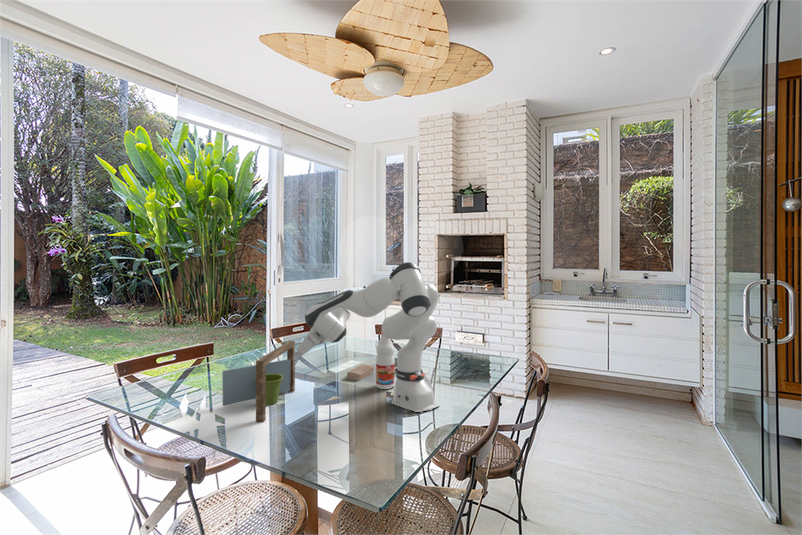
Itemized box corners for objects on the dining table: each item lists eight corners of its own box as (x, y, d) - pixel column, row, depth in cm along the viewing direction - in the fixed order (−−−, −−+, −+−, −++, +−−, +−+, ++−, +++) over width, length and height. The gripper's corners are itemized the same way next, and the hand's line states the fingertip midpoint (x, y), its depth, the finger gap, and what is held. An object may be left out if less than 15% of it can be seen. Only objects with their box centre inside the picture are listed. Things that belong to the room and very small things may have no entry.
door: (290, 390, 184) (290, 359, 183) (223, 406, 164) (223, 371, 163) (288, 389, 186) (288, 358, 185) (221, 404, 166) (221, 369, 166)
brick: (359, 382, 201) (359, 373, 201) (345, 380, 205) (345, 371, 205) (374, 373, 216) (374, 365, 216) (361, 371, 220) (361, 363, 220)
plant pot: (265, 410, 162) (265, 383, 162) (249, 403, 169) (249, 378, 169) (288, 401, 172) (288, 376, 172) (272, 396, 179) (272, 372, 179)
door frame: (294, 390, 187) (294, 341, 186) (263, 422, 150) (263, 361, 150) (288, 390, 187) (288, 341, 186) (255, 422, 150) (255, 361, 150)
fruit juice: (391, 383, 199) (391, 329, 198) (396, 389, 190) (397, 332, 189) (373, 384, 196) (374, 330, 195) (378, 391, 187) (378, 333, 186)
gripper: (321, 324, 180) (301, 344, 181) (308, 332, 160) (285, 355, 161) (331, 334, 180) (310, 354, 181) (318, 343, 160) (295, 366, 161)
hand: (298, 354), depth 171 cm, fingers open, 8 cm apart
